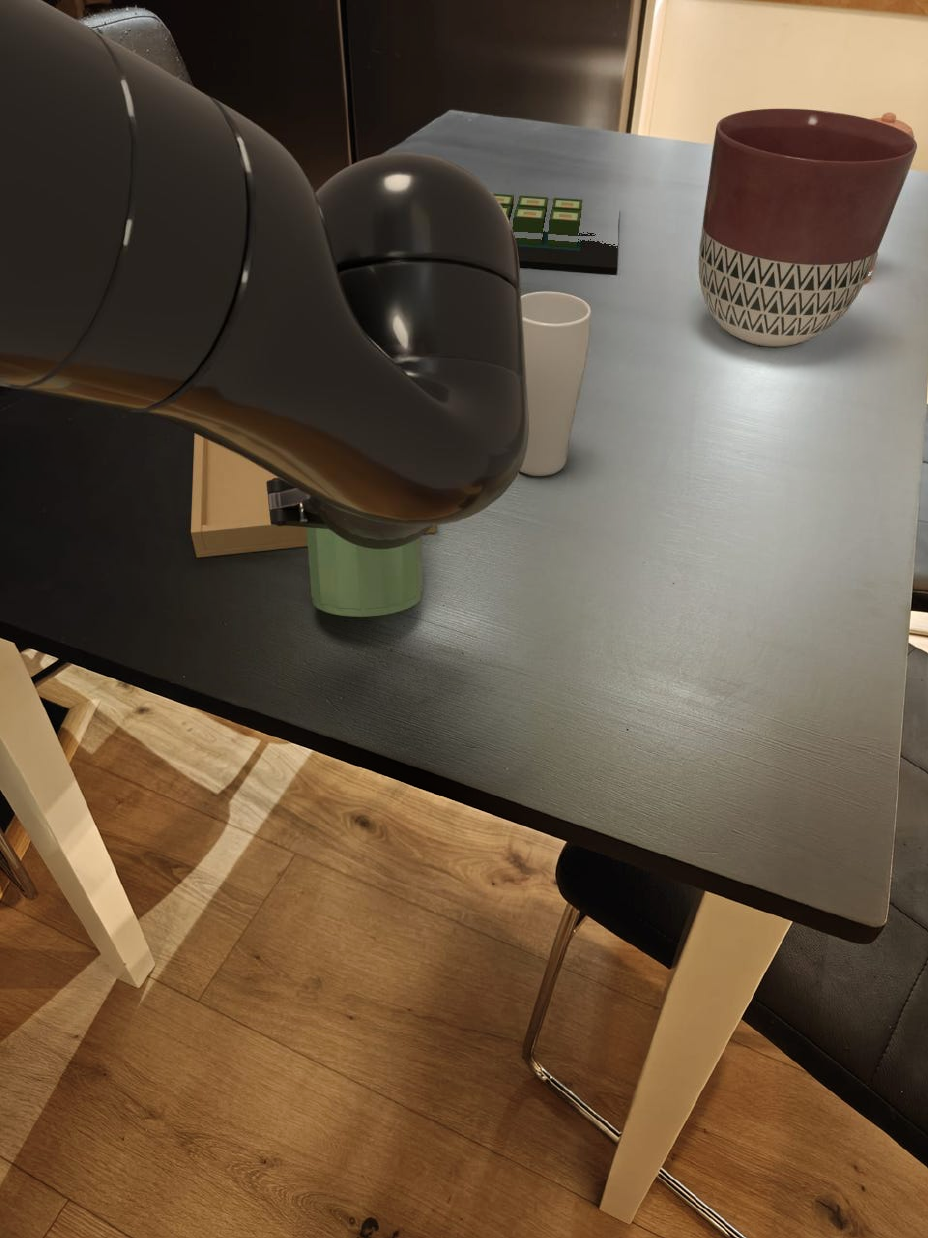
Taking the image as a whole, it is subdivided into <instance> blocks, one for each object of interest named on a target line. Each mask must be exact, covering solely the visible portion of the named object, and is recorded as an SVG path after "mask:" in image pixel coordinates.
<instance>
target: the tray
mask: <svg viewBox="0 0 928 1238" xmlns="http://www.w3.org/2000/svg"><path fill="white" fill-rule="evenodd" d="M192 467H193V469H192V491H191V493H192V494H191V518H190V519H191V520H190V522H191V523H190V535H191V540H192V542H193V548H194V552H195V557H196V558H207V557H216V556H217V557H218V556H227V555H236V554H237V555H238V554H246V553H257V552H267V551H275V550H283V549H284V550H285V549H293V548H305V547H307V535H306V527H297V526H277V525H272V524H271V522H270V513H269V503H268V494H267V485H266V482H267V481H269V480H272V479H273V478H278V477H276V476H275V475H273V474H271V473H270V472H268V471H266V470H265V469H263V468H261V467H259V466H258V465H256V464H254V463H253V462H251V461H249V460H247V459H245V458H243V457H242V456H240V455H238V454H236V453H234V452H231V451H229V450H227V449H225V448H223V447H221V446H219V445H217V444H215V443H213V442H211V441H209V440H207V439H205V438H203V437H201V436H199V435H197V434H195V433H194V439H193V465H192ZM436 526H437V525H433V526H432V527H431V528H430V529H429V530H428V531H427V532H426V533H425V534H424V535H429V534H436V532H437V531H436V529H437V528H436Z"/></svg>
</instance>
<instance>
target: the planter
mask: <svg viewBox="0 0 928 1238" xmlns="http://www.w3.org/2000/svg"><path fill="white" fill-rule="evenodd" d="M871 119H872V118H866V117H862V116H857V115H853V114H849V113H847V114H846V113H841V112H834V111H827V110H818V109H807V108H806V109H804V108H761V109H752V110H751V109H750V110H744V111H739V112H735V113H732V114H729V115H726V116H724V117H723V118H721V119H720V120H719V121H718V122H717V124H716V127H715V133H714V140H713V145H712V151H711V160H710V167H709V177H708V181H707V182H708V183H707V189H706V195H705V203H704V209H703V219H702V226H701V234H700V241H699V250H698V279H699V287H700V292H701V296H702V298H703V301H704V303H705V305H706V308H707V309H708V311H709V312H710V314H711V316H712V317H713V318H714V319H715V320H716V322H717V323H718V324H719V325H720V326H721V327H722V328H723V329H724V330H725V331H726V332H728V333H729V334H730V335H732V336H733V335H734V336H733V337H735V336H736V337H735V338H737V339H739V338H740V339H739V340H741V339H742V340H741V341H743V342H746V343H749V344H753V345H757V346H762V347H774V348H775V347H776V348H777V347H779V348H780V347H788V346H793V345H796V344H800V343H804V342H806V341H808V340H810V339H812V338H815V337H817V336H818V335H820V334H822V333H823V332H825V331H826V330H828V329H830V328H831V327H832V326H833V325H834V324H836V323H837V322H838V321H839V320H840V319H841V318H842V317H843V316H844V315H845V314H846V313H847V311H848V310H849V309H850V307H851V306H852V304H854V302H855V300H856V299H857V297H858V295H859V294H860V292H861V290H862V289H863V286H864V285H865V284H866V283H865V281H866V279H867V276H868V274H869V272H870V269H871V267H872V264H873V262H874V259H875V256H876V254H877V251H879V249H880V246H881V244H882V241H883V239H884V236H885V234H886V231H887V229H888V226H889V223H890V221H891V218H892V215H893V212H894V210H895V207H896V204H897V202H898V199H899V197H900V195H901V192H902V190H903V187H904V184H905V183H906V179H907V177H908V174H909V171H910V169H911V166H912V163H913V160H914V158H915V155H916V152H917V150H918V143H917V141H916V140H915V137H914V138H912V137H911V136H910V135H909V134H907V133H906V132H904V131H902V130H900V129H898V128H895V127H893V126H890V125H888V124H885V123H882V122H878V121H875V120H871ZM864 283H865V284H864ZM744 340H745V341H744ZM747 341H748V342H747ZM750 342H751V343H750ZM754 343H755V344H754ZM759 344H760V345H759Z"/></svg>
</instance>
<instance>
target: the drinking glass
mask: <svg viewBox="0 0 928 1238" xmlns="http://www.w3.org/2000/svg"><path fill="white" fill-rule="evenodd" d="M521 303H522V317H523V334H524V350H525V367H526V385H527V398H528V415H529V435H528V444H527V451H526V454H525V458H524V461H523V464H522V467H521V469H520V470H519V473H522V474H524V475H528V476H532V477H546V476H551V475H554V474H557V473H558V472H560V471H561V470H562V469H563V468H564V467H565V465H566V463H567V459H568V451H569V444H570V439H571V434H572V430H573V424H574V419H575V415H576V410H577V405H578V402H579V401H578V400H579V396H580V391H581V388H582V387H581V386H582V382H583V377H584V373H585V369H586V362H587V356H588V349H589V342H590V331H591V321H592V320H591V318H592V308H591V307H590V304H589V303H587V302H586V301H585V300H583V299H582V298H580V297H578V296H576V295H572V294H569V293H566V292H565V293H564V292H559V291H535V292H534V291H533V292H529V293H525V294H523V295H521Z"/></svg>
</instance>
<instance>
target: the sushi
mask: <svg viewBox="0 0 928 1238" xmlns="http://www.w3.org/2000/svg"><path fill="white" fill-rule="evenodd" d="M493 195H494V196H495V197H496V198H497V200H498V201H499V203H500V204H501V206H502V207H503V209H504V211H505V213H506V215H507V216H508V218H509V220H510V217H511V213H512V209H513V206H514V197H515V194H503V193H493ZM518 198H519V200H518V203H517V207H516V210H515V213H514V218H513V227H512V229H513V232H528V233H541V234H542V233H543V237H542V240H541V239H527V238H515V239H516V243H517V249H518V256H519V265H520V268H522V269H537V270H547V271H549V270H550V271H563V272H575V273H588V274H603V275H616V276H617V272H618V263H619V262H618V261H619V245H618V246H613V245H615V244H613V245H611V244H606V243H604V244H602V243H600V242H599V241H597V242H595V241H589V240H588V241H585V240H582V241H581V240H580V242H579V241H578V242H569V241H555V240H548V234H556V235H568V236H595V235H596V234H595V235H592V234H594V233H588V232H587V233H588V234H590V235H588V234H582V233H579V226H580V218H581V210H582V202H583V199H578V198H565V197H553V199H552V200H553V205H552V210H551V214H550V220H549V231H548V232H545V231H544V232H543V228H544V223H545V217H546V212H547V206H548V200H549V197H548V196H537V195H536V196H535V195H519V197H518ZM578 233H579V235H578ZM583 233H584V232H583ZM580 234H581V235H580ZM578 240H579V239H578ZM590 240H591V239H590ZM602 242H603V241H602ZM609 245H611V246H609ZM616 247H617V248H616Z"/></svg>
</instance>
